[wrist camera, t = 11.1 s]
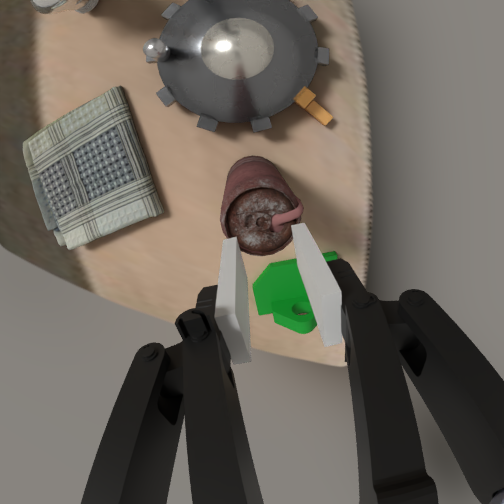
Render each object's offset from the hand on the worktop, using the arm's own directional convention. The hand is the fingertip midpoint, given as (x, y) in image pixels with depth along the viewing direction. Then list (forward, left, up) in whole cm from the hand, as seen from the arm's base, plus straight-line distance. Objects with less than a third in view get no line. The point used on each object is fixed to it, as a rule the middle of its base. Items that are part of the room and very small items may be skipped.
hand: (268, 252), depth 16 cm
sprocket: (-12, -10, -17) cm, 23 cm away
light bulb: (-11, -32, -19) cm, 39 cm away
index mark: (-11, +2, -19) cm, 22 cm away
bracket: (+9, +13, -19) cm, 25 cm away
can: (0, 0, -19) cm, 19 cm away
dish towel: (+10, -20, -20) cm, 30 cm away
